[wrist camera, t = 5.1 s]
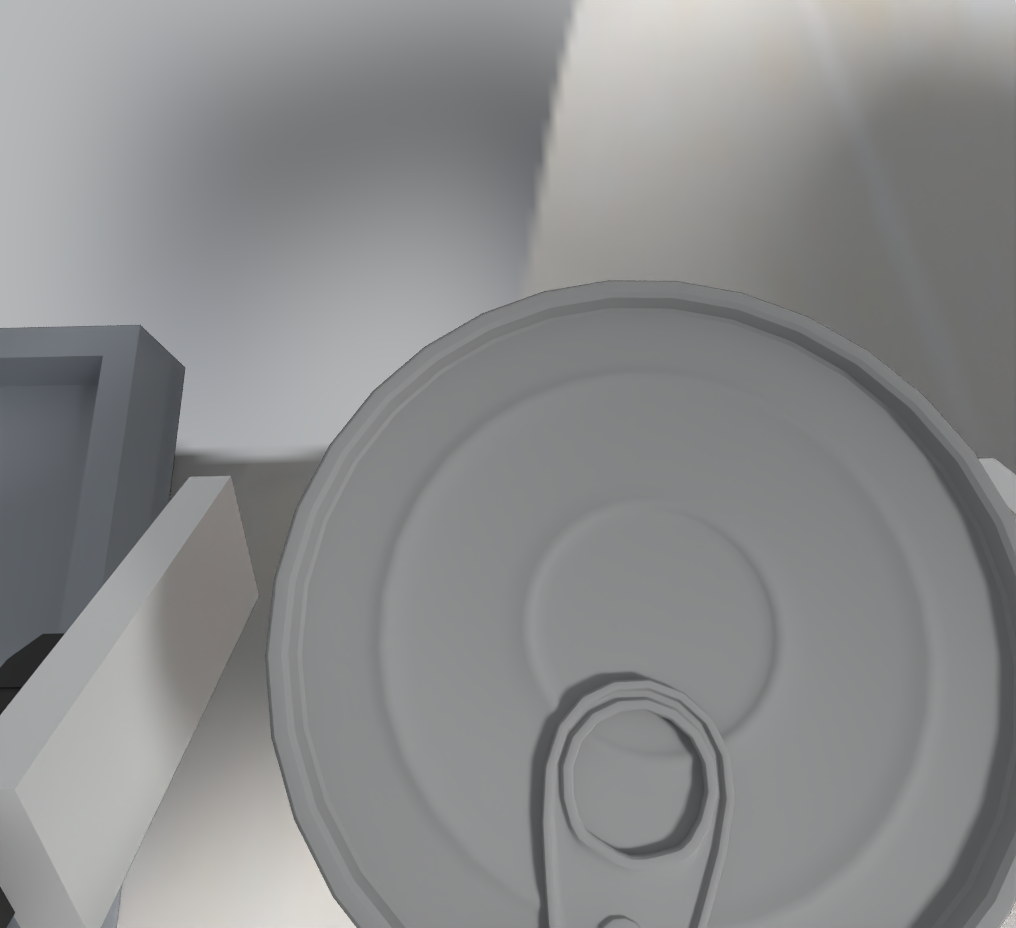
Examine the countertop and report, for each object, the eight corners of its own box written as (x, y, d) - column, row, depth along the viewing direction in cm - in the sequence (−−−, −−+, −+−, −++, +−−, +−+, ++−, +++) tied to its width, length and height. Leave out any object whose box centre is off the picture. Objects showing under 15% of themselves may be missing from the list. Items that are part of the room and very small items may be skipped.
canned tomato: (447, 480, 19) (359, 230, 9) (749, 526, 19) (1045, 319, 8) (385, 805, 17) (161, 1004, 6) (726, 868, 16) (1096, 1195, 6)
